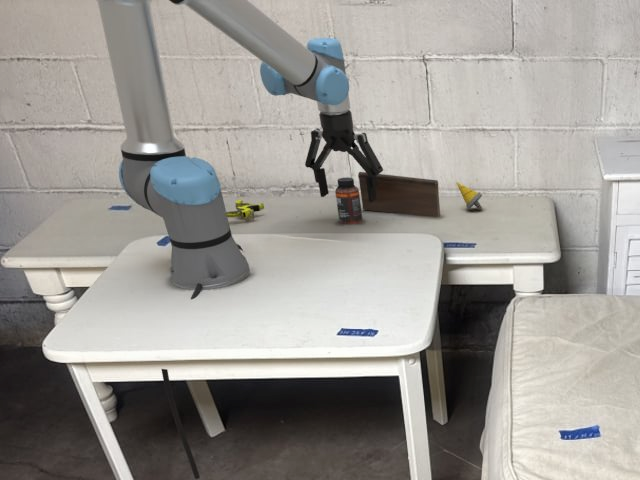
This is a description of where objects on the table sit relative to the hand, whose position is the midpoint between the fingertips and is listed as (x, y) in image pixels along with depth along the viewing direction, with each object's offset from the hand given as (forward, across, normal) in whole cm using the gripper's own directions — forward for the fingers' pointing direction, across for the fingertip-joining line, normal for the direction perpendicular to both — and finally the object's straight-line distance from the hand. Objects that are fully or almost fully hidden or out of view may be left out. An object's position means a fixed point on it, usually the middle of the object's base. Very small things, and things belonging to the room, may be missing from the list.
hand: (348, 197), depth 185 cm
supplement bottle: (+7, 0, 0) cm, 7 cm away
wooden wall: (+7, -9, -11) cm, 16 cm away
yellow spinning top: (+7, -26, -19) cm, 33 cm away
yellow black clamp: (+7, +28, +5) cm, 29 cm away
